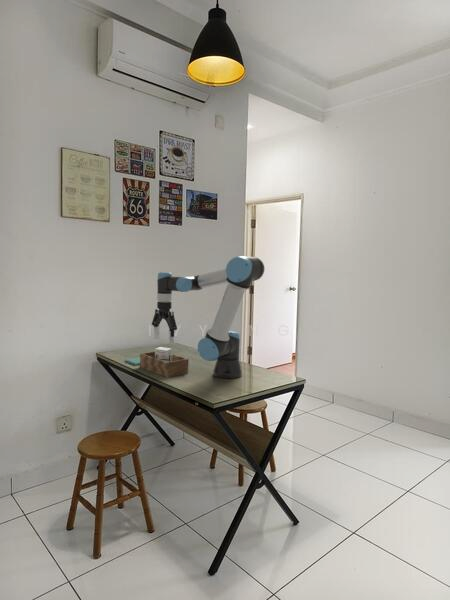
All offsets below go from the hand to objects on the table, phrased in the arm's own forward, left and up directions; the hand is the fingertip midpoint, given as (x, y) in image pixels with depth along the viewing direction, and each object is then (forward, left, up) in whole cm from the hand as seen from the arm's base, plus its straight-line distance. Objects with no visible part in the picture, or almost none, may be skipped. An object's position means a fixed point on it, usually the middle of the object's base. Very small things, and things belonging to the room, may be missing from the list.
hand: (163, 340), depth 224 cm
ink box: (0, 0, -16) cm, 16 cm away
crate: (0, 0, -16) cm, 16 cm away
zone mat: (+23, +1, -16) cm, 28 cm away
